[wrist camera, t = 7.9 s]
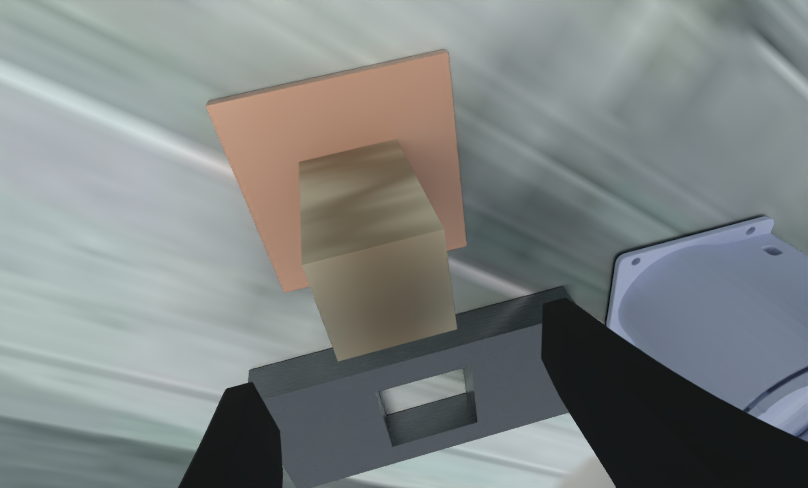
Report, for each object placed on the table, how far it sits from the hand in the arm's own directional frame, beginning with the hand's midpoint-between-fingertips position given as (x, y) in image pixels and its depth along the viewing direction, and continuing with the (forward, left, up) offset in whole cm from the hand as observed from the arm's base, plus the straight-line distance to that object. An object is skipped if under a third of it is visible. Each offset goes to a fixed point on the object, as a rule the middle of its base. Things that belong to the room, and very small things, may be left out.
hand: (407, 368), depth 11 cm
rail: (-1, +14, -10) cm, 17 cm away
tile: (0, 0, -10) cm, 10 cm away
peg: (0, 0, -10) cm, 10 cm away
